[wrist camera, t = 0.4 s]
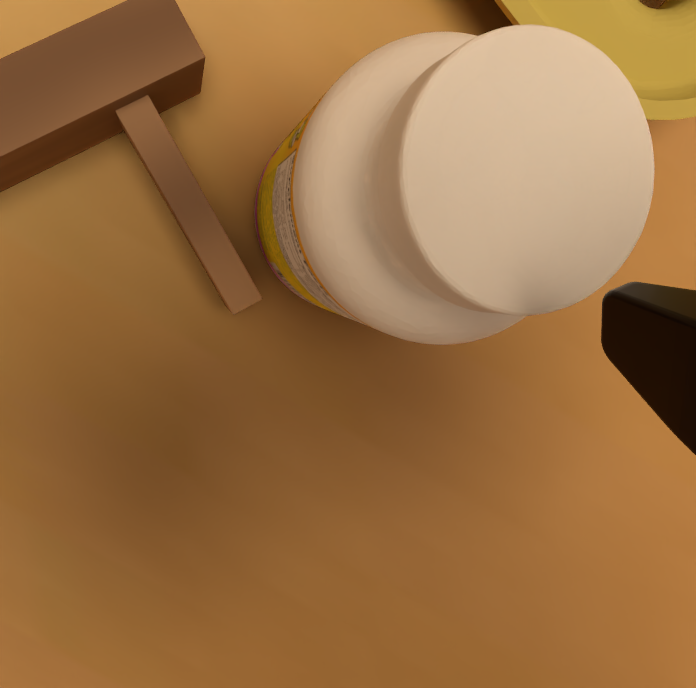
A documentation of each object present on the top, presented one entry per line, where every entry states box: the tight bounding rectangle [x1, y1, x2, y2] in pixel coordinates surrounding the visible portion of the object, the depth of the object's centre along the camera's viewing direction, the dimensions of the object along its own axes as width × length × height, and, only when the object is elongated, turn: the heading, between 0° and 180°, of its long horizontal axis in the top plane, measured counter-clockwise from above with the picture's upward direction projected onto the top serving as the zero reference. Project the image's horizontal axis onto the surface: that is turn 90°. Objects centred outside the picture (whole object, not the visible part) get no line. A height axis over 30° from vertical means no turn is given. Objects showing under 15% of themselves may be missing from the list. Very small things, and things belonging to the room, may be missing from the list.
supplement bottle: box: [254, 24, 654, 345], centre depth 17 cm, size 7×7×13 cm
